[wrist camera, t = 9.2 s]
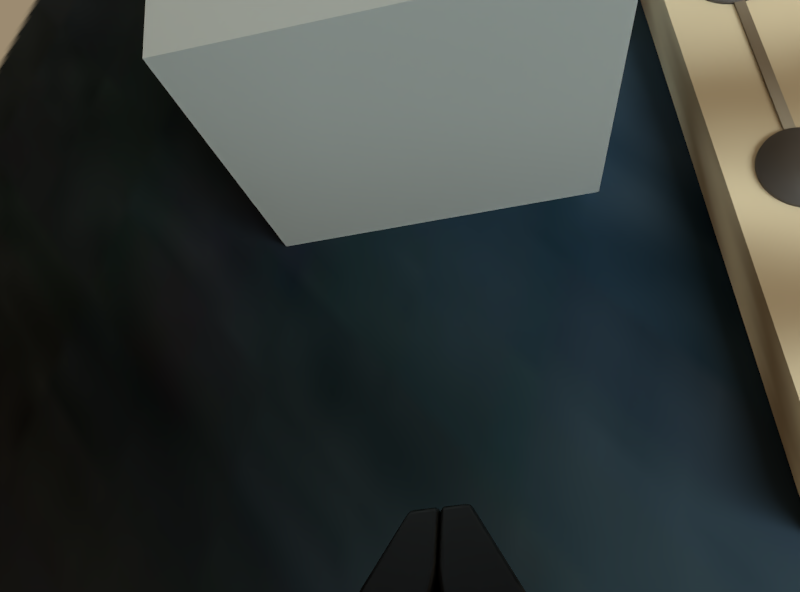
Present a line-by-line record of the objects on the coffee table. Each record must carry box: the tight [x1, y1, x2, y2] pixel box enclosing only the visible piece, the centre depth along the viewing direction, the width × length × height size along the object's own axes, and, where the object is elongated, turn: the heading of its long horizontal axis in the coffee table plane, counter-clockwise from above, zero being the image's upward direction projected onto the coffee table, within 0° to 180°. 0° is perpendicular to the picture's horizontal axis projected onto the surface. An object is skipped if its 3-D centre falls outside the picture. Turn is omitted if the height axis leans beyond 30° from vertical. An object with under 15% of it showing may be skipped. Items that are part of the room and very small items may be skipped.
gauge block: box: [142, 0, 638, 246], centre depth 19 cm, size 8×10×9 cm
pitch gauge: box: [640, 0, 800, 497], centre depth 19 cm, size 22×4×2 cm, turn 7°
